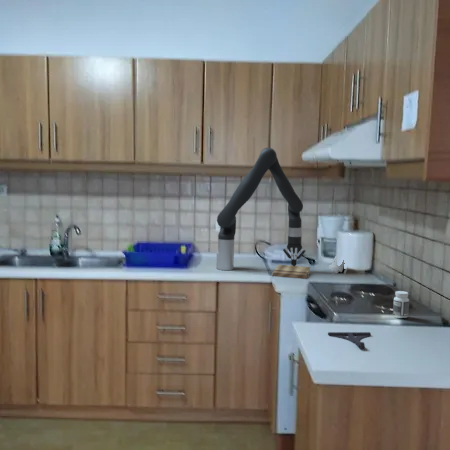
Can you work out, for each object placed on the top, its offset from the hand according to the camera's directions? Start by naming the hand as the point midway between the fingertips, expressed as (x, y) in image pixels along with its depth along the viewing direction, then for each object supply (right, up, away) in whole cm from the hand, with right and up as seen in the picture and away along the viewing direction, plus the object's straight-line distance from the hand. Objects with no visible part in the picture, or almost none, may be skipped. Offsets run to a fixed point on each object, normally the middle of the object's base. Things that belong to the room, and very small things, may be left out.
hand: (294, 265), depth 274 cm
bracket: (+4, -16, -114) cm, 115 cm away
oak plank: (-1, -3, -3) cm, 5 cm away
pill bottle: (+30, -13, -84) cm, 90 cm away
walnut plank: (-4, -5, -11) cm, 13 cm away
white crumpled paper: (+27, -4, +8) cm, 29 cm away
